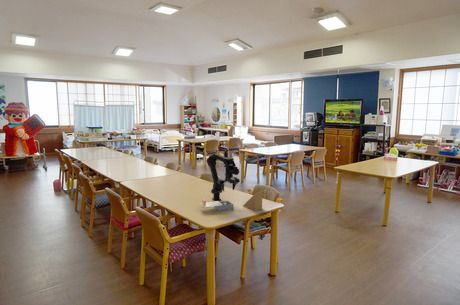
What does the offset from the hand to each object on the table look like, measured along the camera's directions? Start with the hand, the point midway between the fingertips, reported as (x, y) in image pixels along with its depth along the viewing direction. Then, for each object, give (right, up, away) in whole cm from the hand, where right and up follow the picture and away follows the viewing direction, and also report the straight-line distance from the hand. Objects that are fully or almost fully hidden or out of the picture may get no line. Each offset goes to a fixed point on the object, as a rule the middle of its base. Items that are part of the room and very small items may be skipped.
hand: (228, 190), depth 261 cm
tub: (-4, -13, -9) cm, 16 cm away
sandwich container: (+20, -14, -4) cm, 24 cm away
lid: (-13, -9, -14) cm, 21 cm away
